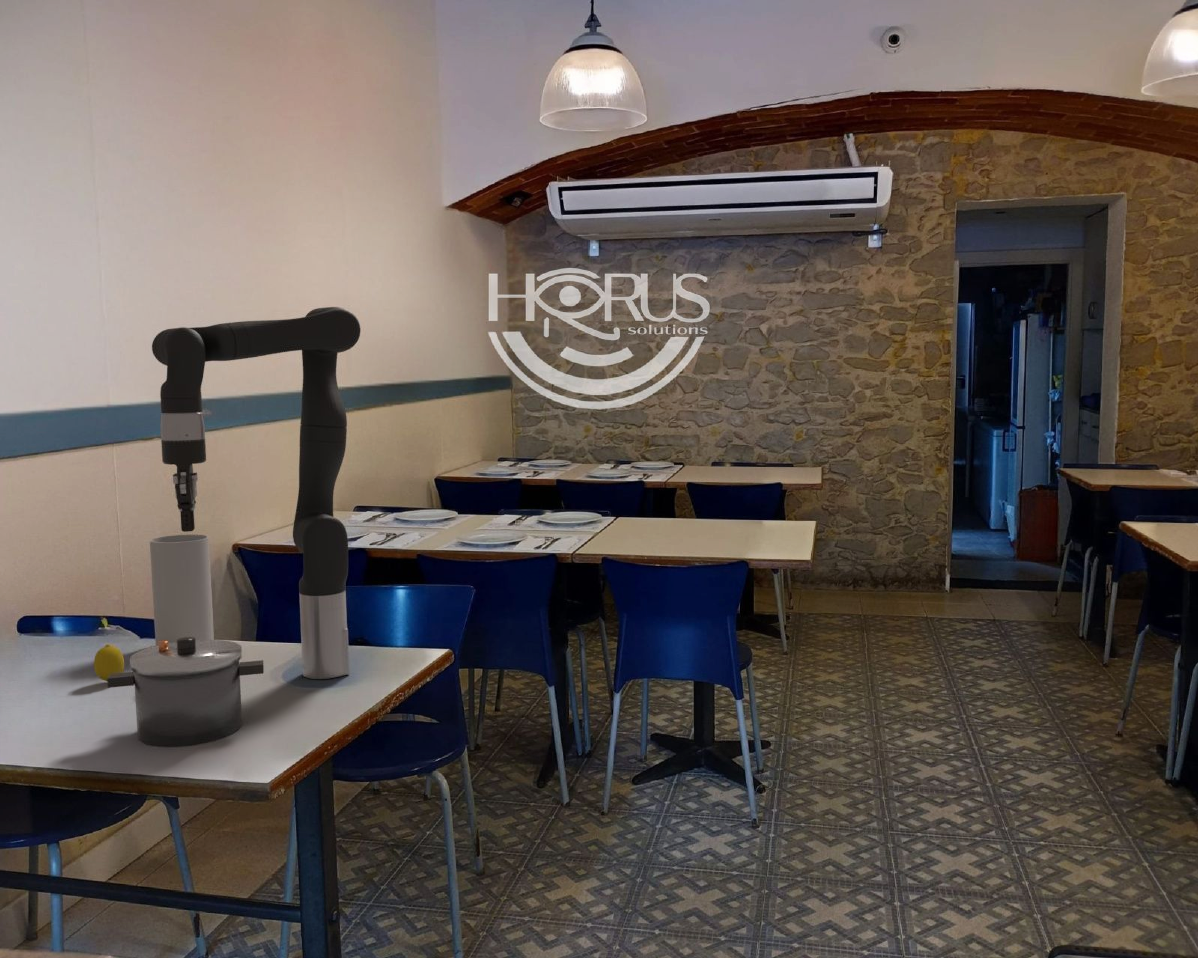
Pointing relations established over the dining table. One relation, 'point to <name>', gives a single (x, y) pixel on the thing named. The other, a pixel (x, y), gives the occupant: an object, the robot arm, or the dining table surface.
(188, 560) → the cylinder vase
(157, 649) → the cooker lid
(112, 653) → the lemon
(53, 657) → the dining table surface
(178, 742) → the cooker pot
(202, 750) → the dining table surface
